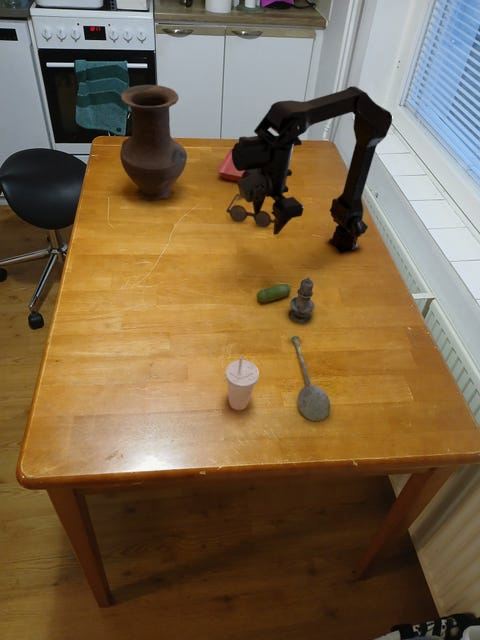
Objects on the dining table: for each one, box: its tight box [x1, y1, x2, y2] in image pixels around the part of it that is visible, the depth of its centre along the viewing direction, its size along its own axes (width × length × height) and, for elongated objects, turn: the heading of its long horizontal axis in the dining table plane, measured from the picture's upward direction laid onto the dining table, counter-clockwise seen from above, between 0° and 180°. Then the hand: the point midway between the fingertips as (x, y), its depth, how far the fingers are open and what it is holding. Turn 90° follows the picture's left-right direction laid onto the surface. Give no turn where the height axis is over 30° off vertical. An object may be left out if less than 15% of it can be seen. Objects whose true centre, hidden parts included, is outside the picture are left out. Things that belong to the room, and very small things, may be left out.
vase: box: [119, 84, 188, 202], centre depth 141 cm, size 19×19×30 cm
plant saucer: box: [217, 148, 245, 182], centre depth 164 cm, size 18×18×3 cm
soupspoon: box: [291, 335, 331, 423], centre depth 104 cm, size 22×3×7 cm
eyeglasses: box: [226, 193, 275, 228], centre depth 147 cm, size 15×15×5 cm
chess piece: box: [288, 276, 316, 324], centre depth 114 cm, size 6×6×12 cm
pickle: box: [256, 283, 292, 303], centre depth 121 cm, size 9×3×3 cm, turn 116°
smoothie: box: [224, 356, 260, 411], centre depth 94 cm, size 6×6×14 cm
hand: (265, 223), depth 119 cm, fingers open, 9 cm apart
